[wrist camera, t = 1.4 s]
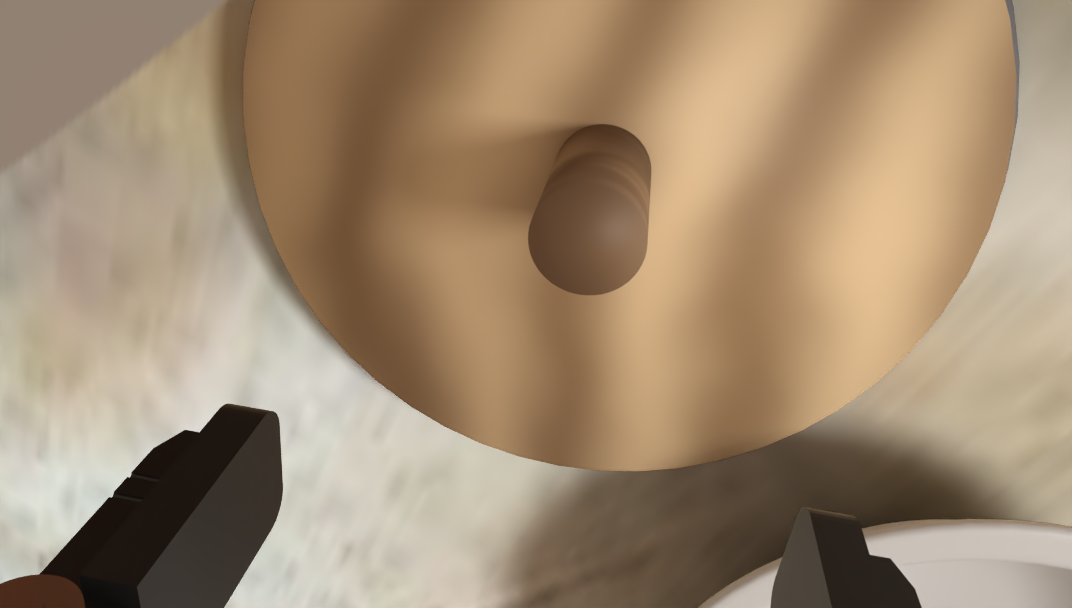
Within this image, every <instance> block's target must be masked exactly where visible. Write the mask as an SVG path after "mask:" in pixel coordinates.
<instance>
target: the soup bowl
mask: <svg viewBox="0 0 1072 608" xmlns="http://www.w3.org/2000/svg"><path fill="white" fill-rule="evenodd" d="M862 531H863V534H864V538H865V541H866V544H867V547H868V551H869V554H870V555H874V556H880V557H885V558H890V559H891V560H892V561H893V562H894V564H895V565H896V566H897V567H898V568H899V570H900V571H901V572H902V573H903V575H904V576H905V577H906V578H907V580H908V581H909V582H910V583H911V585H912V586H913V587H914V588H915V590H916V593H917V596H918V598H919V601H920V604H921V607H922V608H1072V527H1071V526H1065V525H1058V524H1052V523H1044V522H1032V521H1020V520H1007V519H960V520H950V519H931V520H913V521H903V522H895V523H887V524H881V525H876V526H871V527H866V528H862ZM781 560H782V557H781V558H779V559H777V560H775V561H772V562H770V563H768V564H766V565H764V566H761V567H759V568H757V569H755V570H754V571H752V572H750V573H748V574H746V575H745V576H743V577H741V578H739V579H738V580H736V581H734V582H732V583H731V584H729V585H728V586H726V587H725V588H723V589H722V590H720V591H719V592H718V593H716V594H715V595H713V596H712V597H710V598H709V599H707V600H706V601H705V602H704V603H703V604H702V605H700V606H699V607H698V608H771V595H772V589H773V584H774V580H775V577H776V574H777V571H778V568H779V566H780V563H781Z"/></svg>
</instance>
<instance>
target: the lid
mask: <svg viewBox="0 0 1072 608" xmlns="http://www.w3.org/2000/svg"><path fill="white" fill-rule="evenodd" d="M1015 99H1016V67H1015V58H1014V49H1013V40H1012V31H1011V22H1010V17H1009V13H1008V9H1007V6H1006V2H1005V0H255V2H254V6H253V10H252V14H251V17H250V21H249V28H248V36H247V44H246V52H245V60H244V68H243V120H244V128H245V135H246V143H247V151H248V159H249V165H250V169H251V173H252V177H253V181H254V185H255V189H256V193H257V196H258V200H259V204H260V208H261V211H262V213H263V216H264V218H265V221H266V223H267V226H268V229H269V231H270V234H271V236H272V239H273V242H274V244H275V247H276V249H277V251H278V253H279V255H280V257H281V259H282V260H283V262H284V264H285V266H286V268H287V270H288V272H289V274H290V276H291V277H292V279H293V281H294V283H295V285H296V287H297V288H298V290H299V291H300V293H301V294H302V296H303V297H304V299H305V300H306V302H307V303H308V304H309V306H310V307H311V309H312V310H313V312H314V313H315V315H316V316H317V318H318V319H319V321H320V322H321V323H322V324H323V325H324V327H325V328H326V329H327V330H328V331H329V332H330V334H331V335H332V336H333V337H334V338H335V339H336V341H337V342H338V343H339V344H340V345H341V346H342V348H343V349H344V350H345V351H346V352H347V353H348V354H349V355H350V356H351V357H352V358H353V359H354V360H355V361H356V362H357V363H358V364H359V365H361V366H362V367H363V368H364V369H365V370H366V371H367V372H368V373H369V374H370V375H371V376H372V377H373V378H374V379H376V380H377V381H378V382H379V383H380V384H382V385H383V386H384V387H386V388H387V389H388V390H390V391H391V392H392V393H394V394H395V395H396V396H398V397H399V398H400V399H402V400H403V401H404V402H406V403H407V404H408V405H410V406H411V407H413V408H415V409H416V410H418V411H420V412H421V413H423V414H425V415H426V416H428V417H430V418H431V419H433V420H435V421H436V422H438V423H440V424H441V425H443V426H445V427H447V428H449V429H451V430H453V431H456V432H458V433H460V434H462V435H464V436H466V437H469V438H471V439H473V440H475V441H477V442H479V443H482V444H485V445H487V446H490V447H493V448H496V449H499V450H502V451H505V452H508V453H511V454H514V455H517V456H520V457H524V458H528V459H533V460H537V461H541V462H546V463H550V464H554V465H559V466H567V467H575V468H583V469H591V470H601V471H649V470H661V469H673V468H682V467H688V466H693V465H698V464H703V463H709V462H714V461H719V460H723V459H726V458H730V457H733V456H736V455H740V454H743V453H746V452H749V451H753V450H756V449H759V448H762V447H765V446H767V445H769V444H772V443H774V442H776V441H779V440H781V439H783V438H786V437H788V436H790V435H793V434H795V433H797V432H800V431H802V430H804V429H806V428H807V427H809V426H811V425H813V424H814V423H816V422H818V421H820V420H821V419H823V418H825V417H827V416H829V415H830V414H832V413H834V412H836V411H837V410H839V409H841V408H842V407H843V406H845V405H846V404H848V403H849V402H850V401H852V400H853V399H854V398H856V397H857V396H859V395H860V394H861V393H863V392H864V391H865V390H867V389H868V388H870V387H871V386H872V385H874V384H875V383H876V382H878V381H879V380H880V379H881V378H882V377H883V376H884V375H885V374H886V373H887V372H888V371H889V370H890V369H892V368H893V367H894V366H895V365H896V364H897V363H898V362H899V361H900V360H901V359H902V358H903V357H905V356H906V355H907V354H908V353H909V352H910V351H911V350H912V349H913V347H914V346H915V345H916V344H917V343H918V341H919V340H920V339H921V338H922V337H923V336H924V334H925V333H926V332H927V331H928V330H929V329H930V327H931V326H932V325H933V324H934V323H935V321H936V320H937V319H938V318H939V317H940V316H941V314H942V313H943V311H944V310H945V308H946V307H947V305H948V303H949V302H950V300H951V299H952V297H953V296H954V294H955V293H956V291H957V290H958V288H959V287H960V285H961V284H962V282H963V280H964V279H965V277H966V276H967V274H968V272H969V270H970V268H971V266H972V264H973V262H974V260H975V258H976V256H977V254H978V252H979V249H980V247H981V245H982V243H983V241H984V239H985V237H986V235H987V233H988V231H989V228H990V225H991V222H992V219H993V216H994V213H995V210H996V207H997V204H998V201H999V198H1000V195H1001V192H1002V189H1003V186H1004V183H1005V178H1006V173H1007V167H1008V162H1009V156H1010V151H1011V145H1012V140H1013V134H1014V127H1015Z"/></svg>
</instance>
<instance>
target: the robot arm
mask: <svg viewBox="0 0 1072 608" xmlns="http://www.w3.org/2000/svg"><path fill="white" fill-rule="evenodd" d="M282 493H283V481H282V462H281V443H280V425H279V418H278V416H277V414H276V413H275V412H273V411H268V410H262V409H256V408H251V407H245V406H239V405H234V404H225V405H224V406H222V407H221V408H220V409H219V410H218V411H217V412H216V414H215V415H214V416H213V417H212V418H211V420H210V421H209V422H208V423H207V424H206V425H205V427H204V428H203V429H202V430H201V431H200V433H199V432H194V431H188V430H184V431H183V432H181V433H179V434H177V435H176V436H174V437H172V438H171V439H169V440H167V441H165V442H164V443H162V444H160V445H159V446H157V447H155V448H153V449H152V451H151V452H150V453H149V454H148V455H147V456H146V457H145V458H144V459H143V461H142V462H141V463H140V464H139V465H138V466H137V467H136V468H135V469H134V470H133V472H132V475H131V477H130V478H129V477H127V478H126V479H125V480H124V482H123V483H122V484H121V485H120V486H119V487H118V488H117V489H116V490H115V492H114V495H113V497H112V498H110V497H109V498H108V499H107V500H106V501H105V503H104V504H103V505H102V506H101V507H100V508H99V509H98V510H97V511H96V513H95V514H94V515H93V516H92V517H91V518H90V519H89V520H88V521H87V522H86V524H85V525H84V526H83V527H82V528H81V529H80V530H79V531H78V532H77V534H76V535H75V536H74V537H73V538H72V539H71V540H70V541H69V542H68V543H67V545H66V546H65V547H64V548H63V549H62V550H61V551H60V552H59V553H58V555H57V556H56V557H55V558H54V559H53V560H52V561H51V562H50V563H49V565H48V566H47V567H46V568H45V569H44V570H43V571H42V572H41V573H40V574H39V575H29V576H24V577H19V578H15V579H12V580H9V581H6V582H4V583H1V584H0V608H224V607H225V605H226V603H227V602H228V600H229V599H230V597H231V595H232V594H233V592H234V590H235V589H236V587H237V585H238V584H239V582H240V580H241V579H242V577H243V575H244V574H245V572H246V571H247V569H248V567H249V566H250V564H251V562H252V561H253V559H254V557H255V556H256V554H257V552H258V551H259V549H260V548H261V546H262V544H263V543H264V541H265V539H266V538H267V536H268V534H269V533H270V531H271V529H272V527H273V526H274V523H275V521H276V519H277V516H278V513H279V509H280V505H281V501H282ZM771 608H922V607H921V604H920V601H919V598H918V596H917V593H916V590H915V588H914V587H913V586H912V585H911V583H910V582H909V581H908V580H907V578H906V577H905V576H904V575H903V573H902V572H901V571H900V570H899V568H898V567H897V566H896V565H895V564H894V562H893V561H892V560H891V559H890V558H885V557H880V556H874V555H870V554H869V551H868V547H867V544H866V541H865V538H864V534H863V531H862V528H861V525H860V522H859V520H858V518H857V517H856V516H853V515H848V514H842V513H837V512H831V511H825V510H820V509H814V508H808V507H802V508H801V509H800V511H799V512H798V514H797V517H796V519H795V522H794V525H793V528H792V531H791V534H790V537H789V540H788V542H787V545H786V548H785V551H784V554H783V557H782V560H781V563H780V566H779V568H778V571H777V574H776V577H775V580H774V584H773V589H772V595H771Z"/></svg>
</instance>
